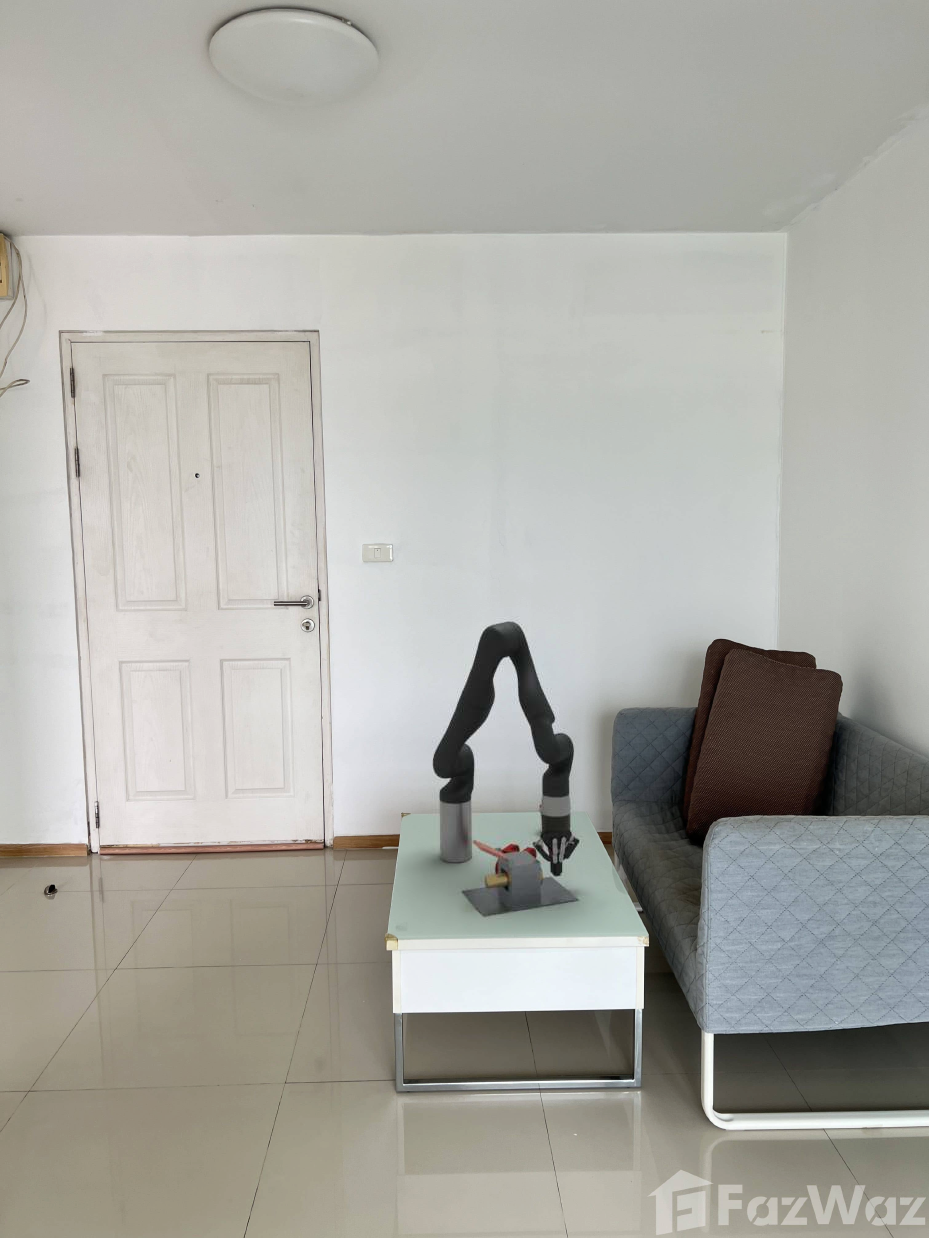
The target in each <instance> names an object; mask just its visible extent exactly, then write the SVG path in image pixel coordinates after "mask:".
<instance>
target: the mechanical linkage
mask: <svg viewBox="0 0 929 1238" xmlns="http://www.w3.org/2000/svg"><path fill="white" fill-rule="evenodd" d="M520 851H521V849H520V846H519V844H515V843H510V844H508V845H506V846H505V847H503V849H502V848H501V852H502V853H503V854H506V853H513V852H520ZM522 851H527V852H528V853H530V854H531V855H532V856H533V857H535V858H536V859H537V852H538V851H537V850H536V849H535V847H530V846H527V847H526V848H524V849H523V850H522ZM494 867H495V868H494V872H495V874H498V859H497V861H496V863H495V865H494Z"/></svg>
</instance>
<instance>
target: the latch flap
mask: <svg viewBox="0 0 929 1238" xmlns="http://www.w3.org/2000/svg"><path fill="white" fill-rule="evenodd" d="M472 844H473V845H474V846H476V847H477V848H478V849H479V850H480V851H482V852H484V853H487V854H488V855H491V856H493V857H495V858H497V859H498V858H499V859H501V860H504V861H506V862H508V859H509V858H508V857H507V856H506V855H505V854H503V853H502V852H501V851H498V850H496V849H495V848H493V847H491V846H489V845H487V844H485V843H482V842H481V841H478V840H476V839H472Z"/></svg>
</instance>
